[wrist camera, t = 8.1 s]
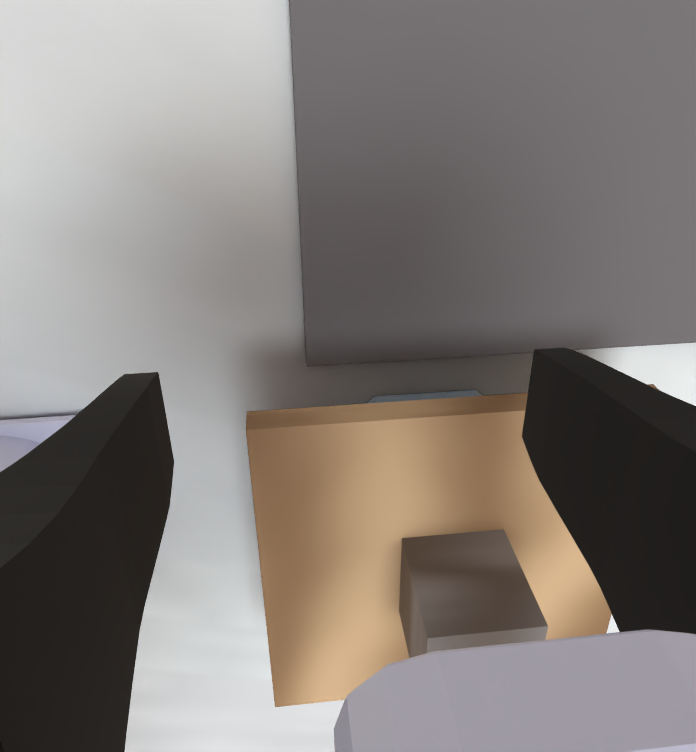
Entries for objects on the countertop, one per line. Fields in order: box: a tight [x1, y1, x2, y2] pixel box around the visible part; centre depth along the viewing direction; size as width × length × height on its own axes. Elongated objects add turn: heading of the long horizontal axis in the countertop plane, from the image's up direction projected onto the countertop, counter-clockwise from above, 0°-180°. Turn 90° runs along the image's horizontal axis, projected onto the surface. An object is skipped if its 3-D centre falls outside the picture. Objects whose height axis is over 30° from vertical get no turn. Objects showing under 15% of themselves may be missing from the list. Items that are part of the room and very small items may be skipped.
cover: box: [246, 384, 658, 707], centre depth 21 cm, size 13×13×5 cm
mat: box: [289, 0, 696, 366], centre depth 20 cm, size 17×17×1 cm
